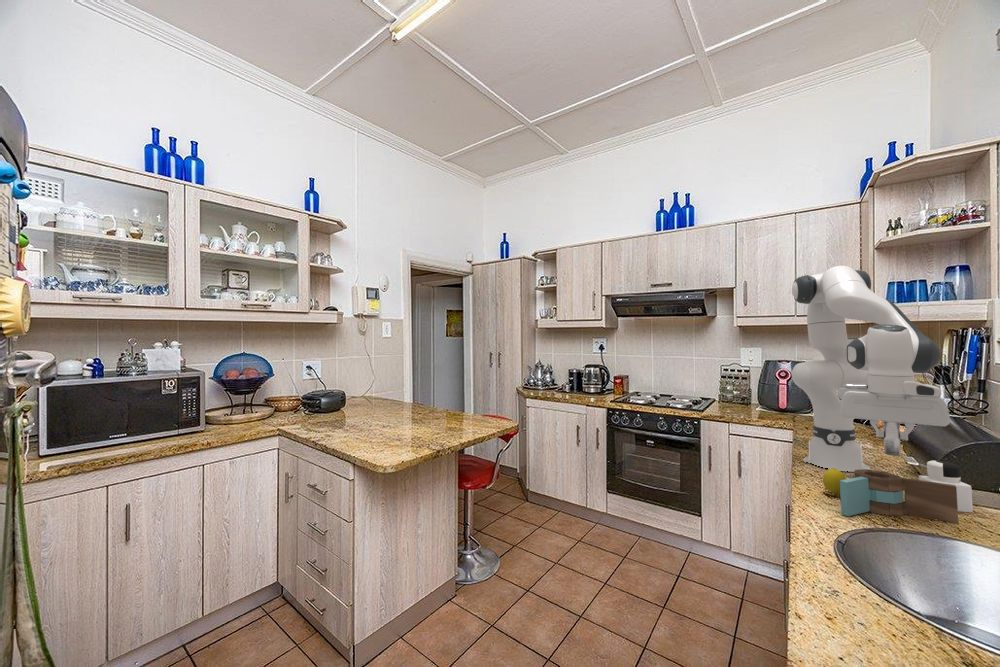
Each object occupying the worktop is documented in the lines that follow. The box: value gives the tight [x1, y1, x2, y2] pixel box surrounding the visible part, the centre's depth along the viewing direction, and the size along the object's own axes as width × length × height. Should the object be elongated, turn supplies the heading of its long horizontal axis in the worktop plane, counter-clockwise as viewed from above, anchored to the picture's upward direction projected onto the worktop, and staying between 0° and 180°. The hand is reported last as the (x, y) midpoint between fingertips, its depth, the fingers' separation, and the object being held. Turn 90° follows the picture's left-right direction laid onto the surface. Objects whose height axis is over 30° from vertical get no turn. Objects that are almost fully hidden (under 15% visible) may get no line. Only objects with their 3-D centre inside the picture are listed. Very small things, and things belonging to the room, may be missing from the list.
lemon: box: [822, 468, 847, 496], centre depth 116 cm, size 6×6×8 cm
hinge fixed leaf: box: [854, 469, 959, 525], centre depth 103 cm, size 9×19×9 cm, turn 49°
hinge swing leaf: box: [840, 476, 905, 517], centre depth 105 cm, size 19×9×9 cm, turn 109°
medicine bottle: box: [918, 460, 974, 514], centre depth 107 cm, size 7×7×12 cm
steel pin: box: [882, 421, 901, 457], centre depth 102 cm, size 3×3×11 cm
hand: (891, 438), depth 102 cm, fingers closed on steel pin, 3 cm apart
